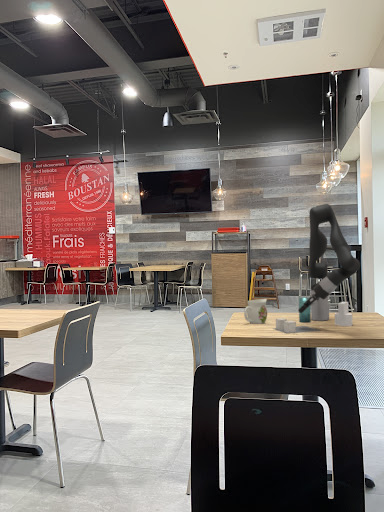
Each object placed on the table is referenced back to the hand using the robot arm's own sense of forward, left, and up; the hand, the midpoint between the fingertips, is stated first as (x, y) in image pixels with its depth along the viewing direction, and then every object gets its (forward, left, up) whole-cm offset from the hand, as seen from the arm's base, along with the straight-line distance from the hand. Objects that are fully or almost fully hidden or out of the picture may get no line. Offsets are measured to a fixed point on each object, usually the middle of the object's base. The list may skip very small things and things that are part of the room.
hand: (301, 310), depth 213 cm
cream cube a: (+10, +5, -9) cm, 14 cm away
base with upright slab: (-31, -8, -11) cm, 34 cm away
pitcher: (+13, -25, -11) cm, 30 cm away
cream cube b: (+10, -3, -9) cm, 14 cm away
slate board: (+4, +1, -10) cm, 11 cm away
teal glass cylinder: (-1, +1, -5) cm, 6 cm away
